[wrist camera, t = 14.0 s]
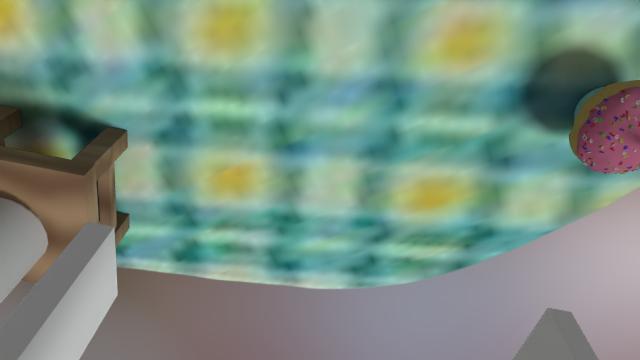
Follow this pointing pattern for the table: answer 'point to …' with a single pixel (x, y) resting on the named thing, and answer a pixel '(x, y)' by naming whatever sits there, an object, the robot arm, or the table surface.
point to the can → (18, 243)
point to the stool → (62, 187)
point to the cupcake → (608, 128)
